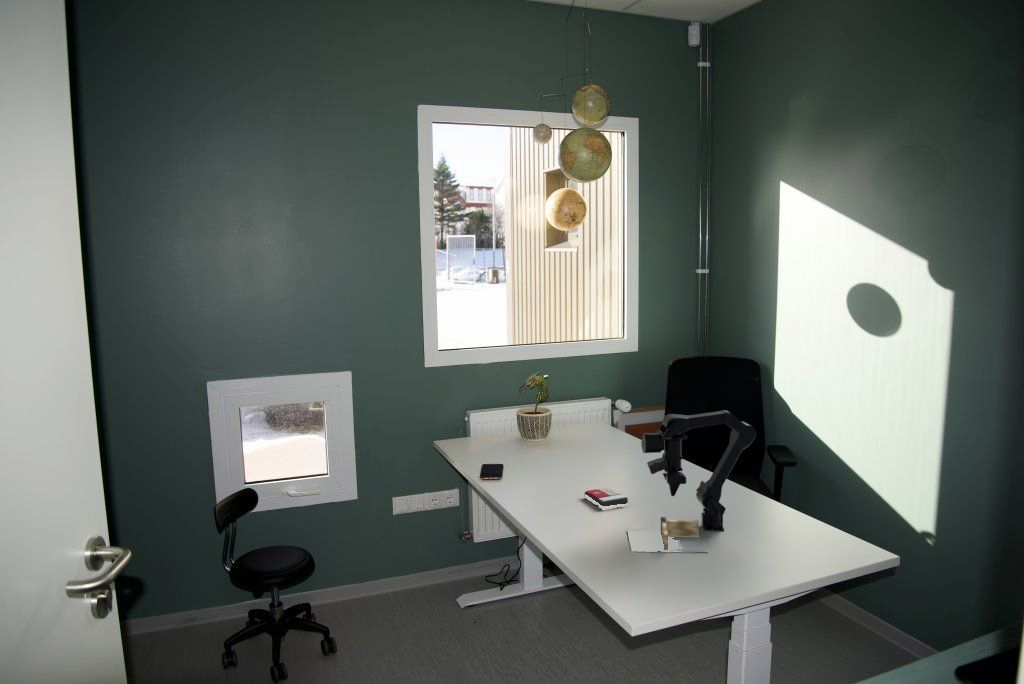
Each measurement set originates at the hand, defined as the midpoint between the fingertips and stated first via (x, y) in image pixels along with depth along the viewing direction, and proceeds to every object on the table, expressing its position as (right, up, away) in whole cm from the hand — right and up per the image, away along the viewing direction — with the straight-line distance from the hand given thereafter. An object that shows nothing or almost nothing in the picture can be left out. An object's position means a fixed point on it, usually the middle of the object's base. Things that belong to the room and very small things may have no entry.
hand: (672, 495), depth 229 cm
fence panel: (-5, -13, -11) cm, 18 cm away
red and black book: (-19, -10, +29) cm, 36 cm away
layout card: (-5, -13, -9) cm, 16 cm away
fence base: (+1, -13, -5) cm, 13 cm away
